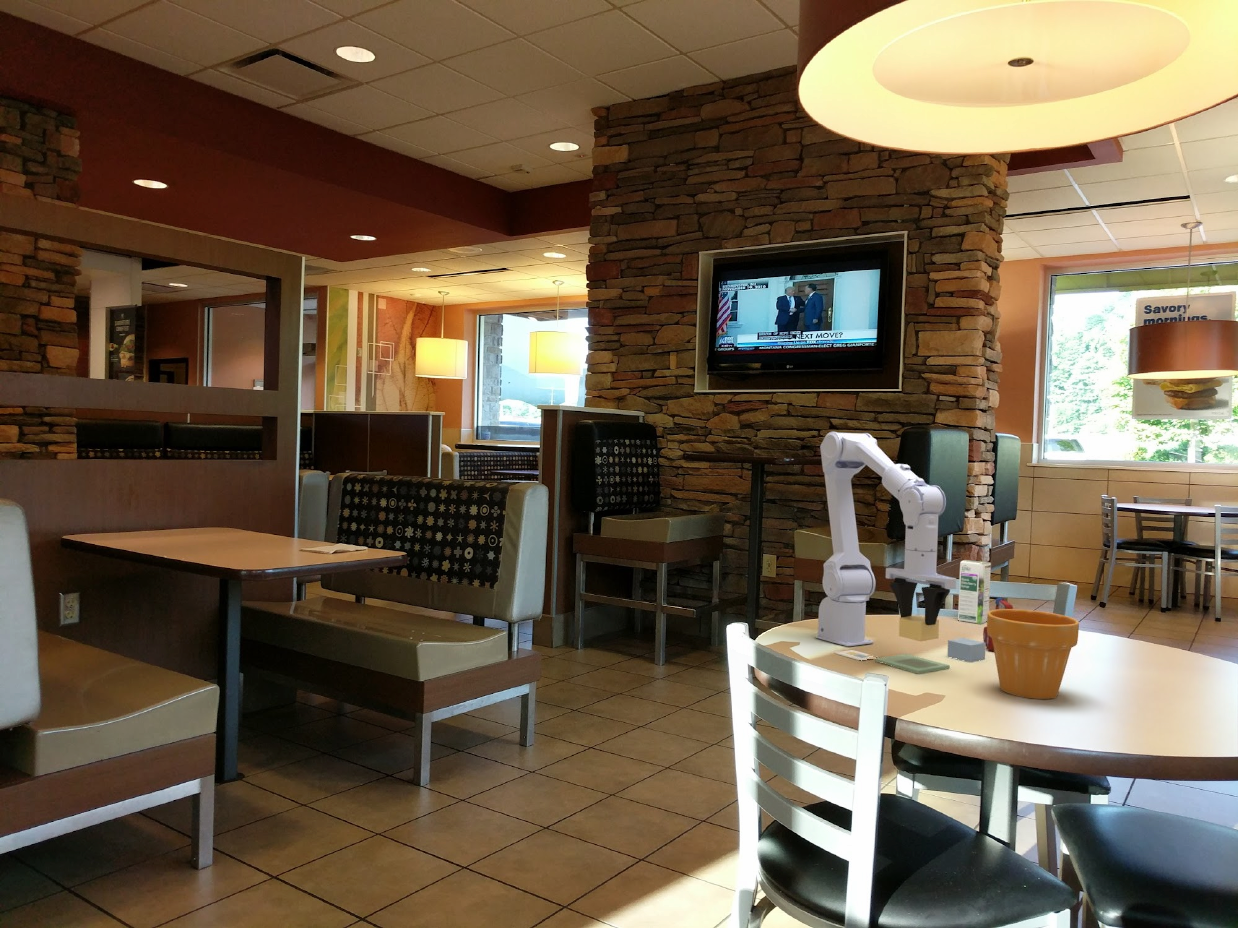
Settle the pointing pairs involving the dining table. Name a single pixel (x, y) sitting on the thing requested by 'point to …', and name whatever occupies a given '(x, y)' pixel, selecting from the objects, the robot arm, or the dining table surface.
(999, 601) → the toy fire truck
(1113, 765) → the dining table surface
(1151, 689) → the dining table surface
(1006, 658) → the flower pot
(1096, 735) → the dining table surface
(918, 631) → the brick
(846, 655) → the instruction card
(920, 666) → the plate
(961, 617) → the syrup box
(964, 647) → the brick
